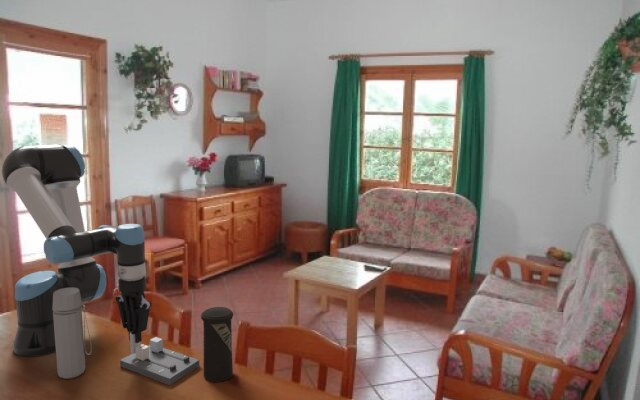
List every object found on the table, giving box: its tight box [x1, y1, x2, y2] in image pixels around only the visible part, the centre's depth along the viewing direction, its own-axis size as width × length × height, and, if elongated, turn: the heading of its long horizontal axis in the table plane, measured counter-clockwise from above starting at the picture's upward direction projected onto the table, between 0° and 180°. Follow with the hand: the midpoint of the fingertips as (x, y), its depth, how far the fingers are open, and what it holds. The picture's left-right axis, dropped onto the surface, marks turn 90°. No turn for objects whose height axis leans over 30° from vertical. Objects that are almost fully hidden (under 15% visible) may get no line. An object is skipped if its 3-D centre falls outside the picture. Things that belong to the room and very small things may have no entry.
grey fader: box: [149, 336, 164, 353], centre depth 148 cm, size 3×2×4 cm
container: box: [200, 306, 234, 383], centre depth 138 cm, size 9×9×20 cm
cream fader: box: [135, 343, 149, 361], centre depth 143 cm, size 3×2×4 cm
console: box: [119, 344, 200, 386], centre depth 143 cm, size 20×12×3 cm, turn 62°
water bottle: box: [52, 287, 93, 380], centre depth 136 cm, size 9×8×25 cm
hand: (135, 351), depth 144 cm, fingers closed
